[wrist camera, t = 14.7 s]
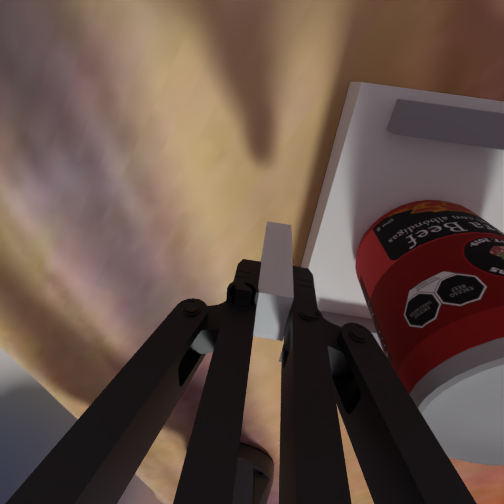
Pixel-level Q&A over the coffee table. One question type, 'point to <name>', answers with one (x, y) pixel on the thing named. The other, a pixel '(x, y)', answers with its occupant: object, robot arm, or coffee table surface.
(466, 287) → the canned food
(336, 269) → the dock
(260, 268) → the robot arm
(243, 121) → the coffee table surface
